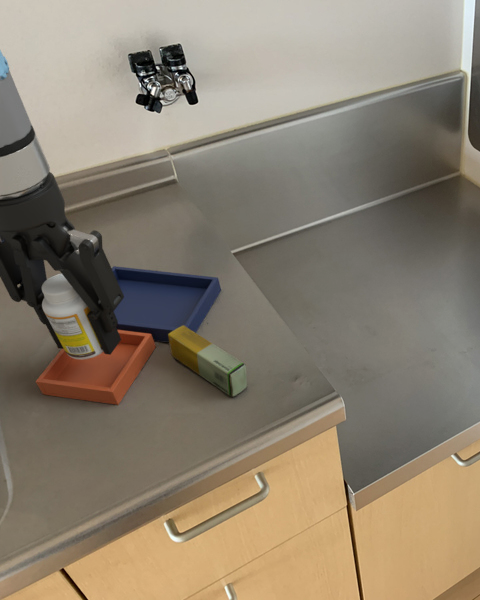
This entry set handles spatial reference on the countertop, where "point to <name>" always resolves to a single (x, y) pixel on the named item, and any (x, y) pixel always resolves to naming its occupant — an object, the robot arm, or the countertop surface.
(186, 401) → the countertop surface
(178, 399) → the countertop surface
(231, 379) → the medication box
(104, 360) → the terracotta tray
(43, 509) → the countertop surface
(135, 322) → the navy tray
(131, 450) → the countertop surface
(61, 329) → the supplement bottle
